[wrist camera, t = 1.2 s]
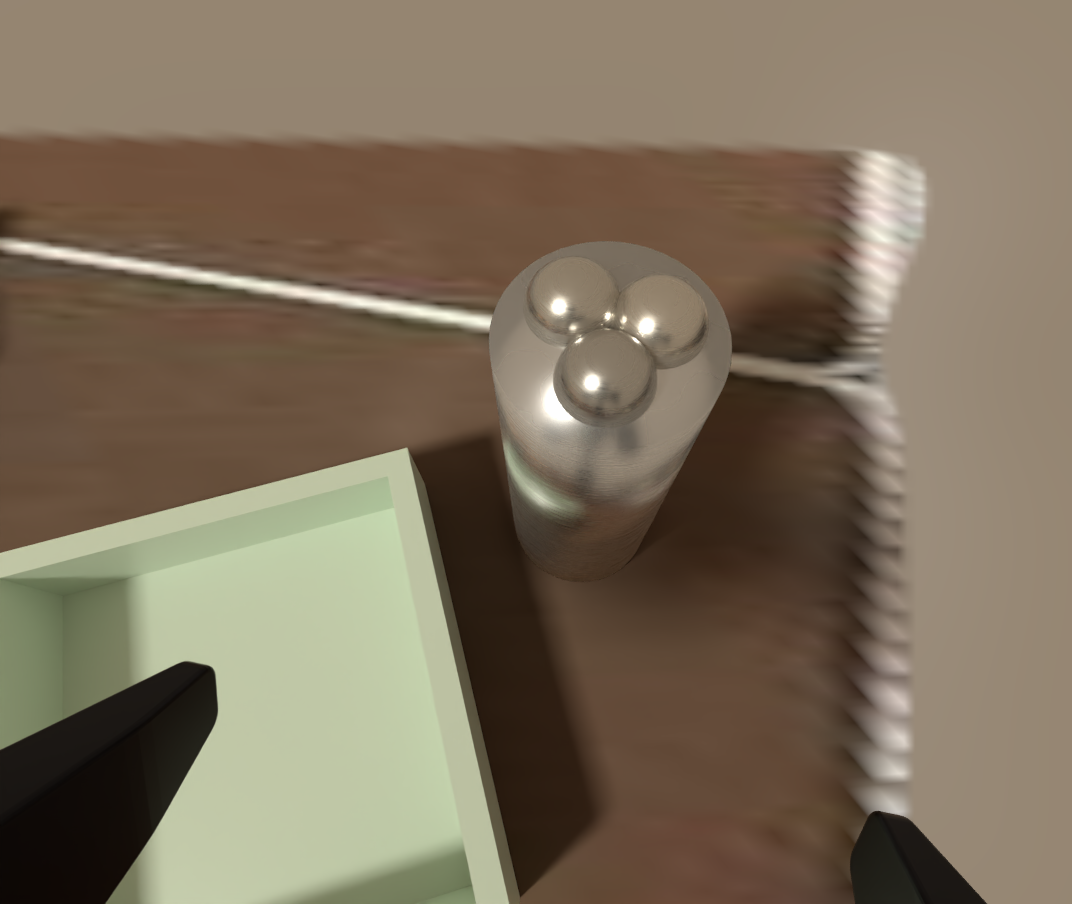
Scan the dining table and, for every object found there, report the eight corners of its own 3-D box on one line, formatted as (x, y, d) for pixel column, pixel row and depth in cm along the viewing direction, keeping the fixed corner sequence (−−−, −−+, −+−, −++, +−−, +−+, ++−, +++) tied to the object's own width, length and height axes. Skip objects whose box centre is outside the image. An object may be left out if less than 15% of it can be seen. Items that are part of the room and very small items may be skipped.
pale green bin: (520, 897, 19) (515, 931, 16) (47, 1054, 18) (-60, 1125, 15) (425, 484, 25) (407, 448, 21) (51, 583, 23) (-28, 560, 20)
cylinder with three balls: (663, 561, 23) (790, 386, 11) (534, 598, 23) (523, 457, 11) (620, 442, 25) (690, 184, 13) (500, 475, 25) (458, 237, 13)
